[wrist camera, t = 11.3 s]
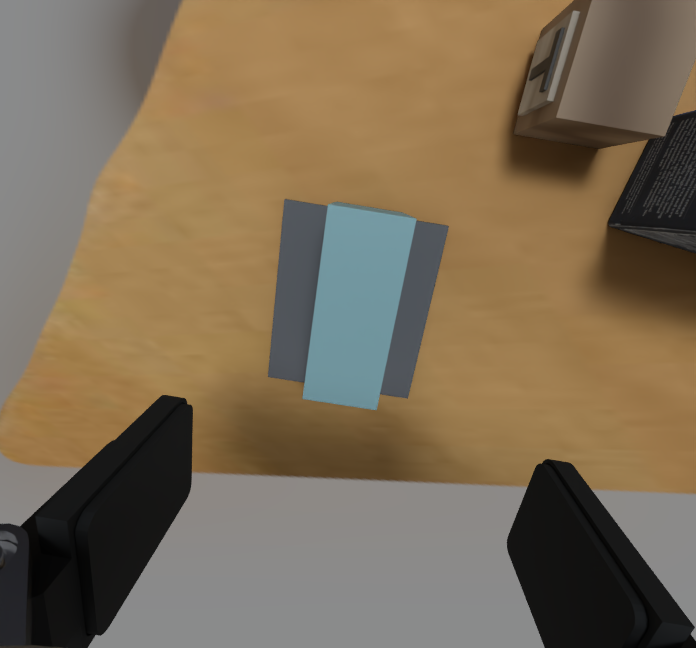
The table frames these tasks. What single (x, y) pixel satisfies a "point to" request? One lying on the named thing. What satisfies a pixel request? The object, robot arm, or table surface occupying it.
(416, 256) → the dark gray block
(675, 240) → the small box
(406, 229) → the teal rectangular block
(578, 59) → the wooden letter block
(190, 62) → the table surface
